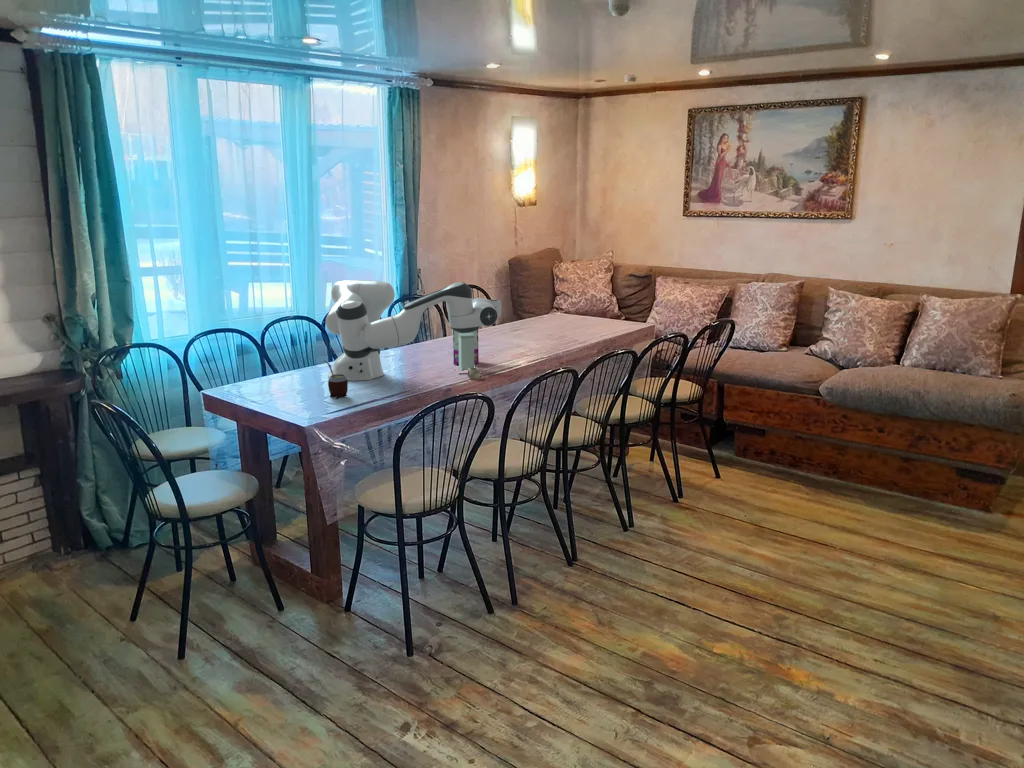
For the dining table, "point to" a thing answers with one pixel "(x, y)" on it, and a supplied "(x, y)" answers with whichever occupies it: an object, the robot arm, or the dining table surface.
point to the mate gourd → (337, 384)
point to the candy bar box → (456, 346)
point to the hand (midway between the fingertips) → (471, 304)
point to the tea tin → (466, 351)
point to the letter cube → (473, 373)
